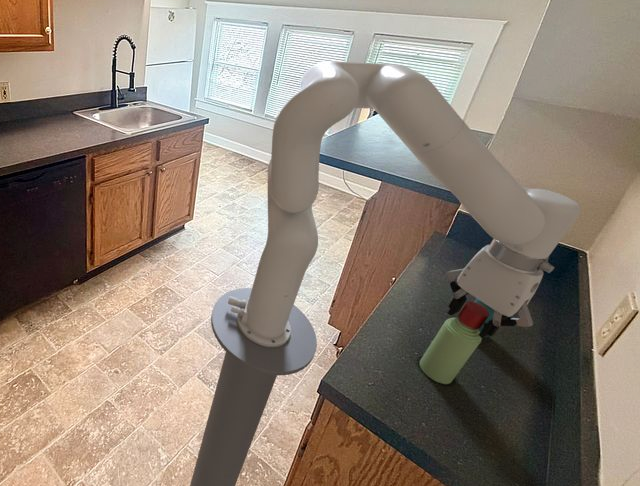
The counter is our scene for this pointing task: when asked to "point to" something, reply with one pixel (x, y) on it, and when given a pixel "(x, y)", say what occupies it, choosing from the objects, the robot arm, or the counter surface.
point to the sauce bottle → (449, 351)
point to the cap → (473, 315)
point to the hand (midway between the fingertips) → (468, 322)
